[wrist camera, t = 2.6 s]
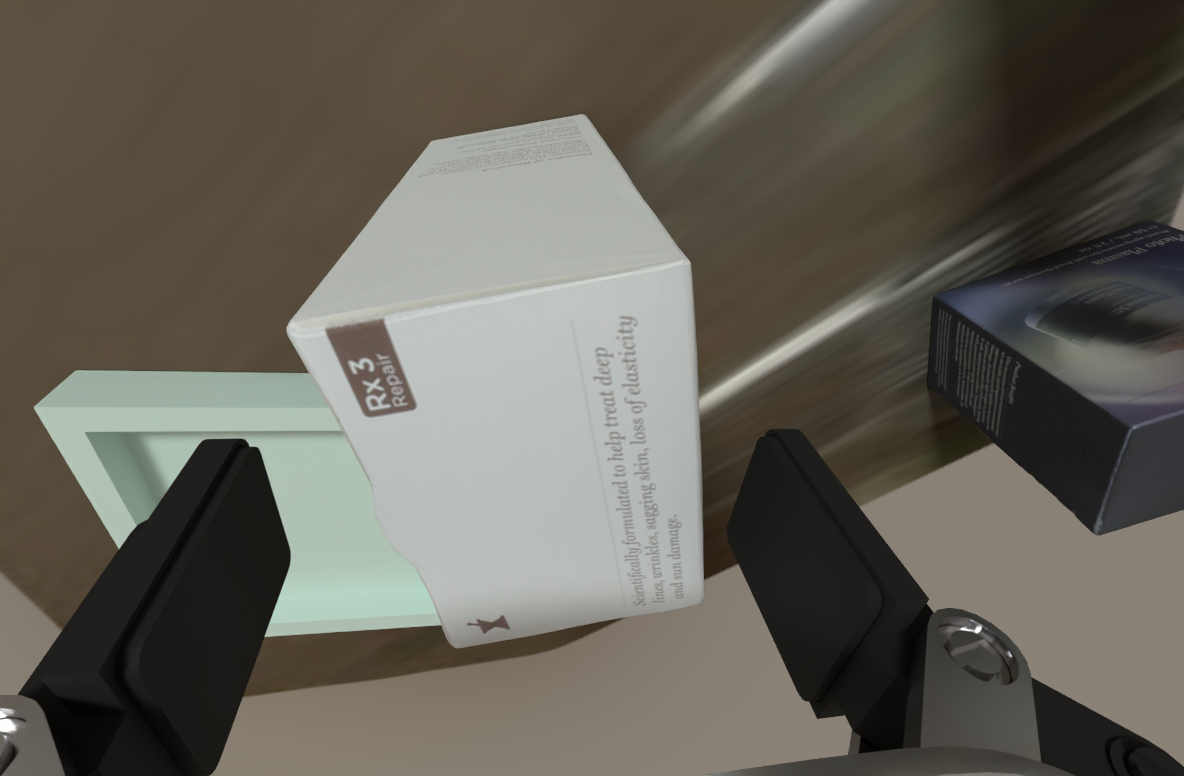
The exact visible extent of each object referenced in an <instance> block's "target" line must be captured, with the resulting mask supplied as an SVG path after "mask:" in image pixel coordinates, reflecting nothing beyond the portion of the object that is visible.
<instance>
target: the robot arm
mask: <svg viewBox="0 0 1184 776" xmlns="http://www.w3.org/2000/svg"><path fill="white" fill-rule="evenodd" d="M727 537H728V542H729V544H730V546H731V549H732V551H733V553H734V555H735V557H736V559H737V562H738V564H739V566H740V568H741V570H742V572H743V575H744V577H745V579H746V581H747V583H748V585H749V588H750V590H751V592H752V594H753V596H754V599H755V601H756V603H757V605H758V607H759V609H760V612H761V613H762V616H763V618H764V620H765V622H766V625H767V627H768V629H769V631H770V633H771V635H772V637H773V640H774V642H775V644H776V646H777V648H778V650H779V653H780V655H781V657H782V659H783V661H784V663H785V666H786V668H787V670H788V672H789V674H790V677H791V679H792V681H793V683H794V685H795V687H796V690H797V692H798V693H799V695H800V696H801V698H802V699H803V700H805V701H809V702H810V704H811V706H812V709H813V711H814V713H815V715H816V717H817V718H818V719H820V718H828V717H835V716H843V715H845V716H846V718H847V720H848V722H849V724H850V726H851V728H852V734H851V740H850V747H849V752H848V755H845V756H837V757H828V758H820V759H813V760H805V761H798V762H791V763H784V764H778V765H770V766H763V767H756V768H749V769H741V770H734V771H728V772H720V773H713V774H706V775H699V776H1184V767H1183V766H1182V765H1181V764H1180V763H1179V762H1177V761H1176V760H1175V759H1174V758H1173V757H1171V756H1170V755H1169V754H1168V753H1166V752H1165V751H1164V750H1162V749H1160V748H1159V747H1157V746H1156V745H1154V744H1153V743H1151V742H1150V741H1148V740H1146V739H1144V738H1143V737H1141V736H1139V735H1137V734H1135V733H1133V732H1132V731H1130V730H1128V729H1126V728H1124V727H1122V726H1120V725H1119V724H1117V723H1114V722H1113V721H1111V720H1109V719H1107V718H1106V717H1104V716H1102V715H1100V714H1098V713H1096V712H1095V711H1093V710H1091V709H1089V708H1087V707H1085V706H1083V705H1082V704H1080V703H1078V702H1076V701H1074V700H1072V699H1071V698H1068V697H1067V696H1065V695H1063V694H1061V693H1059V692H1058V691H1056V690H1054V689H1052V688H1050V687H1048V686H1047V685H1045V684H1043V683H1041V682H1039V681H1037V680H1036V679H1033V678H1032V677H1031V673H1030V670H1029V667H1028V663H1027V661H1026V659H1025V658H1024V656H1023V655H1022V653H1021V651H1020V650H1019V648H1018V647H1017V646H1016V645H1015V644H1014V643H1013V642H1012V640H1011V639H1010V638H1009V637H1008V636H1007V635H1006V634H1005V633H1003V632H1002V631H1001V630H1000V629H998V628H997V627H996V626H994V625H993V624H992V623H990V622H988V621H986V620H985V619H983V618H981V617H979V616H978V615H976V614H973V613H970V612H967V611H964V610H961V609H954V608H945V609H941V610H937V611H936V612H935V613H933V611H932V610H931V609H930V607H929V606H928V605H927V602H928V600H929V598H928V597H927V596H926V594H925V593H924V592H923V590H922V589H921V588H920V586H919V585H918V584H917V582H916V581H915V580H914V579H913V577H912V576H911V575H910V573H909V572H908V571H907V569H906V568H905V567H904V565H903V564H902V563H901V561H900V560H899V559H898V558H897V556H896V555H895V554H894V553H893V551H892V550H891V549H890V547H889V546H888V544H887V543H886V542H885V541H884V539H883V538H882V537H881V536H880V534H879V533H878V531H877V530H876V529H875V527H874V526H873V525H872V523H871V522H870V521H869V520H868V518H867V517H866V516H865V514H864V513H863V512H862V510H861V509H860V508H859V506H858V505H857V504H856V502H855V501H854V500H853V499H852V497H851V496H850V495H849V493H848V492H847V491H846V489H845V488H844V487H843V485H842V484H841V483H840V481H839V480H838V479H837V478H836V476H835V475H834V474H833V472H832V471H831V470H830V468H829V467H828V466H827V464H826V463H825V462H824V460H823V459H822V458H821V457H820V455H819V454H818V453H817V451H816V450H815V449H814V447H813V446H812V445H811V443H810V442H809V441H808V440H807V438H806V437H805V436H804V434H803V433H802V432H801V431H800V430H797V429H772V430H769V431H768V432H767V433H766V434H765V436H764V437H760V438H759V439H758V441H757V444H756V447H755V449H754V452H753V455H752V458H751V461H750V463H749V466H748V469H747V472H746V475H745V478H744V480H743V483H742V486H741V489H740V492H739V495H738V497H737V500H736V503H735V506H734V509H733V511H732V514H731V517H730V520H729V523H728V526H727ZM290 561H291V551H290V546H289V543H288V540H287V537H286V533H285V530H284V527H283V524H282V520H281V517H280V514H279V510H278V507H277V504H276V501H275V497H274V494H273V491H272V488H271V484H270V481H269V478H268V475H267V471H266V468H265V465H264V461H263V458H262V455H261V452H260V450H259V448H258V447H250V446H249V444H248V442H247V441H246V440H245V439H242V438H235V439H205V440H203V441H202V442H201V443H200V444H199V445H198V446H197V448H196V449H195V451H194V452H193V454H192V455H191V457H190V458H189V460H188V461H187V463H186V464H185V465H184V467H183V468H182V470H181V471H180V473H179V474H178V476H177V477H176V479H175V480H174V482H173V483H172V485H171V486H170V487H169V489H168V490H167V492H166V493H165V495H164V496H163V498H162V499H161V501H160V502H159V504H158V505H157V507H156V508H155V509H154V511H153V512H152V514H151V515H150V517H149V518H148V520H145V521H143V522H141V523H140V524H138V525H137V526H136V527H135V528H134V530H133V531H132V532H131V533H130V534H129V536H128V537H127V539H126V540H125V541H124V543H123V544H122V546H121V547H120V549H119V550H118V552H117V553H116V554H115V556H114V557H113V559H112V560H111V562H110V563H109V564H108V566H107V567H106V569H105V570H104V572H103V573H102V574H101V576H100V577H99V579H98V580H97V582H96V583H95V585H94V586H93V587H92V589H91V590H90V592H89V593H88V595H87V596H86V597H85V599H84V600H83V602H82V603H81V605H80V606H79V607H78V609H77V610H76V612H75V613H74V615H73V616H72V617H71V619H70V620H69V622H68V623H67V625H66V626H65V628H64V629H63V630H62V632H61V633H60V635H59V636H58V638H57V639H56V641H55V642H54V643H53V645H52V646H51V648H50V649H49V651H48V652H47V654H46V655H45V656H44V658H43V659H42V661H41V662H40V663H39V665H38V666H37V668H36V669H35V671H34V672H33V674H32V675H31V676H30V678H29V679H28V681H27V682H26V683H25V685H24V686H23V688H22V689H21V691H20V692H19V693H18V695H0V776H209V775H211V774H212V773H213V772H214V770H215V769H216V767H217V765H218V763H219V761H220V758H221V755H222V752H223V750H224V747H225V744H226V742H227V738H228V736H229V733H230V730H231V728H232V725H233V722H234V719H235V717H236V714H237V711H238V708H239V706H240V703H241V700H242V697H243V695H244V692H245V689H246V686H247V684H248V681H249V678H250V675H251V673H252V670H253V667H254V664H255V662H256V659H257V656H258V653H259V651H260V648H261V645H262V642H263V640H264V637H265V634H266V631H267V628H268V626H269V623H270V620H271V617H272V615H273V612H274V609H275V606H276V604H277V601H278V598H279V595H280V593H281V590H282V587H283V584H284V582H285V579H286V576H287V573H288V570H289V567H290Z"/></svg>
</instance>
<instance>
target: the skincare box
mask: <svg viewBox="0 0 1184 776" xmlns="http://www.w3.org/2000/svg"><path fill="white" fill-rule="evenodd" d="M287 335H288V337H289V338H290V340H291V342H292V344H293V345H294V347H295V349H296V350H297V352H298V354H299V355H300V357H301V359H302V361H303V363H304V364H305V366H306V368H307V370H308V372H309V373H310V375H311V377H312V379H313V381H314V382H315V384H316V386H317V388H318V390H319V391H320V393H321V395H322V396H323V398H324V400H325V402H326V403H327V405H328V407H329V409H330V410H331V412H332V414H333V415H334V417H335V419H336V421H337V423H338V425H339V426H340V428H341V430H342V432H343V434H344V436H345V437H346V439H347V441H348V443H349V445H350V447H351V449H352V450H353V452H354V454H355V456H356V458H357V460H358V462H359V464H360V465H361V467H362V469H363V471H364V473H365V475H366V477H367V479H368V480H369V482H370V485H371V488H372V493H373V502H374V513H375V516H376V519H377V522H378V524H379V526H380V529H381V531H382V533H383V534H384V536H385V538H386V539H387V541H388V542H389V544H390V545H391V546H392V548H393V549H394V550H395V551H396V552H397V553H398V554H399V555H401V556H402V557H403V558H404V559H405V560H407V561H408V562H409V563H410V564H411V565H412V566H414V567H415V568H416V570H417V572H418V574H419V576H420V578H421V580H422V582H423V583H424V585H425V587H426V589H427V591H428V593H429V595H430V597H431V600H432V602H433V604H434V607H435V609H436V611H437V614H438V617H439V620H440V622H441V625H442V628H443V631H444V633H445V636H446V638H447V640H448V641H449V643H450V644H451V645H452V646H453V647H455V648H463V647H469V646H474V645H480V644H486V643H491V642H497V641H503V640H509V639H515V638H520V637H526V636H532V635H537V634H542V633H547V632H552V631H557V630H562V629H566V628H571V627H576V626H581V625H586V624H591V623H596V622H601V621H607V620H612V619H618V618H624V617H632V616H638V615H646V614H653V613H661V612H668V611H672V610H676V609H681V608H685V607H689V606H694V605H698V604H700V603H701V602H702V601H703V600H704V568H703V498H702V463H701V439H700V419H699V393H698V365H697V344H696V327H695V310H694V294H693V282H692V271H691V262H690V261H689V260H688V259H687V257H686V256H685V255H684V254H683V253H682V251H681V250H680V249H679V248H678V246H677V245H676V243H675V242H674V241H673V239H672V238H671V237H670V235H669V234H668V232H667V231H666V229H665V228H664V227H663V225H662V224H661V222H660V221H659V219H658V218H657V216H656V215H655V214H654V212H653V211H652V210H651V208H650V207H649V206H648V205H647V203H646V202H645V201H644V200H643V198H642V197H641V195H640V194H639V192H638V191H637V189H636V187H635V186H634V185H633V183H632V181H631V179H630V178H629V176H628V175H627V173H626V172H625V170H624V169H623V168H622V166H621V164H620V163H619V161H618V160H617V159H616V157H615V156H614V154H613V153H612V152H611V150H610V149H609V147H608V146H607V144H606V143H605V141H604V140H603V139H602V137H601V136H600V135H599V133H598V132H597V130H596V129H595V127H594V126H593V125H592V123H591V122H590V121H589V119H588V118H587V116H586V115H582V114H581V115H576V116H570V117H565V118H559V119H553V120H547V121H542V122H536V123H531V124H525V125H520V126H514V127H508V128H502V129H496V130H491V131H485V132H480V133H474V134H468V135H463V136H457V137H451V138H446V139H440V140H435V141H431V142H430V143H429V145H428V146H427V148H426V149H425V150H424V152H423V153H422V154H421V155H420V157H419V158H418V159H417V161H416V162H415V163H414V164H413V166H412V167H411V168H410V169H409V171H408V172H407V173H406V175H405V176H404V177H403V178H402V180H401V181H400V182H399V184H398V185H397V186H396V187H395V189H394V190H393V191H392V192H391V194H390V195H389V196H388V197H387V199H386V200H385V201H384V202H383V204H382V205H381V206H380V208H379V209H378V210H377V212H376V213H375V214H374V216H373V217H372V218H371V220H370V221H369V222H368V224H367V225H366V226H365V228H364V229H363V230H362V231H361V233H360V234H359V235H358V236H357V238H356V239H355V240H354V242H353V243H352V244H351V245H350V247H349V248H348V249H347V250H346V252H345V253H344V254H343V255H342V257H341V258H340V259H339V260H338V262H337V263H336V264H335V265H334V267H333V268H332V269H331V270H330V272H329V273H328V274H327V276H326V277H325V278H324V279H323V281H322V282H321V283H320V284H319V286H318V287H317V288H316V289H315V291H314V292H313V293H312V294H311V296H310V297H309V298H308V299H307V301H306V302H305V303H304V304H303V306H302V307H301V308H300V309H299V311H298V312H297V313H296V314H295V316H294V317H293V318H292V319H291V321H290V322H289V324H288V326H287Z"/></svg>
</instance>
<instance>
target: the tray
mask: <svg viewBox="0 0 1184 776" xmlns="http://www.w3.org/2000/svg"><path fill="white" fill-rule="evenodd" d="M34 409H35V411H36V412H37V414H38V416H39V417H40V419H41V421H42V422H43V424H44V426H45V427H46V429H47V431H48V432H49V434H50V435H51V437H52V439H53V440H54V442H55V444H56V445H57V447H58V449H59V450H60V452H61V454H62V455H63V457H64V459H65V460H66V462H67V464H68V465H69V467H70V469H71V470H72V472H73V474H74V475H75V477H76V479H77V480H78V482H79V483H80V485H81V487H82V488H83V490H84V492H85V493H86V495H87V497H88V498H89V500H90V502H91V503H92V505H93V507H94V508H95V510H96V512H97V513H98V515H99V517H100V518H101V520H102V522H103V523H104V525H105V527H106V528H107V530H108V532H109V533H110V535H111V536H112V538H113V540H114V541H115V543H116V545H117V546H118V548H119V549H120V547H121V546H122V544H123V543H124V541H125V540H126V539H127V537H128V536H129V534H130V533H131V532H132V531H133V530H134V528H135V527H136V526H137V525H138V524H140V523H141V522H143V521H145V520H148V518H149V517H150V515H151V514H152V512H153V511H154V509H155V508H156V507H157V505H158V504H159V502H160V501H161V499H162V498H163V496H164V495H165V493H166V492H167V490H168V489H169V487H170V486H171V485H172V483H173V482H174V480H175V479H176V477H177V476H178V474H179V473H180V471H181V470H182V468H183V467H184V465H185V464H186V463H187V461H188V460H189V458H190V457H191V455H192V454H193V452H194V451H195V449H196V448H197V446H198V445H199V444H200V443H201V442H202V441H203V440H205V439H235V438H242V439H245V440H246V441H247V442H248V444H249V446H250V447H258V448H259V450H260V452H261V455H262V458H263V461H264V465H265V468H266V471H267V475H268V478H269V481H270V484H271V488H272V491H273V494H274V497H275V501H276V504H277V507H278V510H279V514H280V517H281V520H282V524H283V527H284V530H285V533H286V537H287V540H288V543H289V546H290V551H291V561H290V567H289V570H288V573H287V576H286V579H285V582H284V584H283V587H282V590H281V593H280V595H279V598H278V601H277V604H276V606H275V609H274V612H273V615H272V617H271V620H270V623H269V626H268V628H267V631H266V634H265V637H268V636H283V635H298V634H313V633H328V632H343V631H358V630H373V629H388V628H403V627H418V626H433V625H441V622H440V620H439V617H438V614H437V611H436V609H435V607H434V604H433V602H432V600H431V597H430V595H429V593H428V591H427V589H426V587H425V585H424V583H423V582H422V580H421V578H420V576H419V574H418V572H417V570H416V568H415V567H414V566H412V565H411V564H410V563H409V562H408V561H407V560H405V559H404V558H403V557H402V556H401V555H399V554H398V553H397V552H396V551H395V550H394V549H393V548H392V546H391V545H390V544H389V542H388V541H387V539H386V538H385V536H384V534H383V533H382V531H381V529H380V526H379V524H378V522H377V519H376V516H375V513H374V502H373V493H372V488H371V485H370V482H369V480H368V479H367V477H366V475H365V473H364V471H363V469H362V467H361V465H360V464H359V462H358V460H357V458H356V456H355V454H354V452H353V450H352V449H351V447H350V445H349V443H348V441H347V439H346V437H345V436H344V434H343V432H342V430H341V428H340V426H339V425H338V423H337V421H336V419H335V417H334V415H333V414H332V412H331V410H330V409H329V407H328V405H327V403H326V402H325V400H324V398H323V396H322V395H321V393H320V391H319V390H318V388H317V386H316V384H315V382H314V381H313V379H312V377H311V375H310V373H247V372H167V371H87V370H76V371H75V372H74V373H72V374H71V375H70V376H69V377H68V378H67V379H66V380H64V381H63V382H62V383H61V384H60V385H59V386H57V387H56V388H55V389H54V390H53V391H52V392H51V393H49V394H48V395H47V396H46V397H45V398H44V399H42V400H41V401H40V402H39V403H38V404H37V405H35V406H34Z"/></svg>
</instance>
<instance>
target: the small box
mask: <svg viewBox="0 0 1184 776" xmlns="http://www.w3.org/2000/svg"><path fill="white" fill-rule="evenodd" d="M928 387H929V388H931V389H932V390H933V391H934V392H936V393H937V394H939V395H940V396H941V397H942V398H943V399H945V400H946V401H947V402H948V403H949V404H950V405H951V406H952V407H954V408H955V409H956V410H957V411H959V412H960V413H961V415H963V416H964V417H965V418H966V419H967V420H968V421H969V422H971V423H972V424H974V425H975V426H976V427H977V428H978V429H979V430H980V431H981V432H982V433H983V434H985V435H986V436H987V437H988V438H989V439H990V440H991V441H992V442H993V443H995V444H996V445H997V446H998V447H999V448H1000V449H1002V450H1003V451H1004V452H1005V453H1006V454H1007V455H1008V456H1009V457H1011V458H1012V459H1013V460H1014V461H1015V462H1016V463H1017V464H1018V465H1019V466H1021V467H1022V468H1023V469H1024V470H1026V471H1027V472H1028V473H1029V474H1030V475H1032V476H1033V477H1034V478H1035V479H1036V480H1037V481H1038V482H1039V483H1040V484H1042V485H1043V486H1044V487H1045V488H1046V489H1047V490H1048V491H1049V492H1051V493H1052V494H1053V495H1054V496H1055V497H1056V498H1057V499H1058V500H1059V501H1060V502H1061V503H1062V504H1063V505H1064V506H1066V507H1067V508H1068V509H1069V510H1070V511H1072V512H1073V513H1074V514H1075V516H1076V517H1077V518H1078V519H1079V520H1080V521H1081V522H1082V523H1083V524H1084V525H1085V526H1086V527H1087V528H1088V529H1089V530H1090V531H1091V532H1092V533H1094V534H1096V535H1103V534H1106V533H1109V532H1112V531H1116V530H1119V529H1122V528H1125V527H1129V526H1132V525H1135V524H1138V523H1141V522H1145V521H1148V520H1151V519H1155V518H1157V517H1161V516H1164V515H1167V514H1171V513H1174V512H1177V511H1181V510H1184V231H1182V230H1179V229H1176V228H1173V227H1170V226H1167V225H1164V224H1161V223H1158V222H1155V221H1148V222H1144V223H1142V224H1139V225H1136V226H1133V227H1130V228H1128V229H1125V230H1122V231H1119V232H1116V233H1113V234H1111V235H1107V236H1105V237H1102V238H1099V239H1096V240H1093V241H1090V242H1087V243H1085V244H1082V245H1079V246H1076V247H1073V248H1070V249H1067V250H1064V251H1061V252H1059V253H1056V254H1053V255H1050V256H1047V257H1044V258H1041V259H1038V260H1036V261H1033V262H1030V263H1027V264H1024V265H1021V266H1018V267H1015V268H1013V269H1010V270H1007V271H1004V272H1001V273H998V274H995V275H992V276H989V277H986V278H983V279H981V280H978V281H975V282H972V283H969V284H966V285H963V286H960V287H957V288H954V289H951V290H948V291H946V292H943V293H939V294H937V295H935V296H934V301H933V313H932V328H931V341H930V359H929V375H928Z"/></svg>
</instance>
